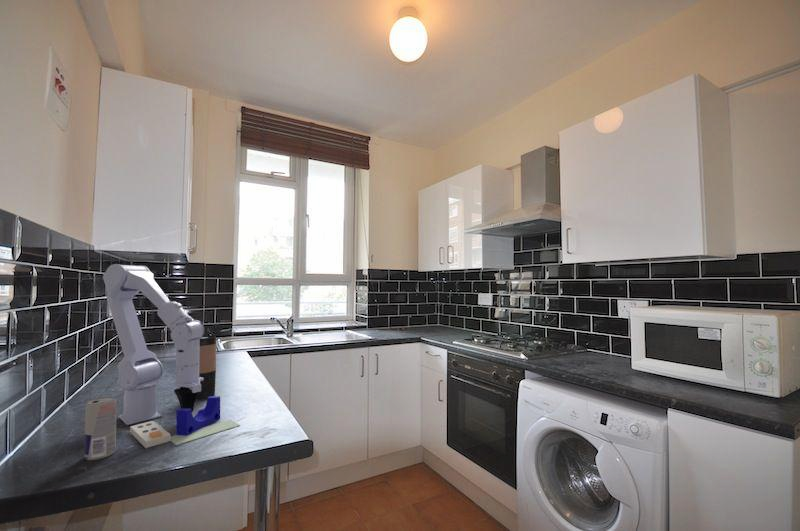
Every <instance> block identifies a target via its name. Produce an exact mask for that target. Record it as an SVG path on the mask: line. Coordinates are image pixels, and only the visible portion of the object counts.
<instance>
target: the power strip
mask: <svg viewBox="0 0 800 531" xmlns="http://www.w3.org/2000/svg"><path fill="white" fill-rule="evenodd" d="M129 430H130V431H129V432H130V434H131V435H132V436H133V437H134V438H135V439H136V440H137V441H138V442H139V443H140V444H141V445H142V446H143V447H144V448H145V449H148V448H151V447H154V446H157V445H161V444H165V443H168V442H171V441H170V437H171V434H170V433H169V431H167V430H165V428H163V427H162V426H161V425H159V424H158V423H157V422H156V421H154V420H151V421H146V422H143V423H139V424H135V425H131V426H130V427H129Z"/></svg>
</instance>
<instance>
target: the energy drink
mask: <svg viewBox="0 0 800 531" xmlns="http://www.w3.org/2000/svg"><path fill="white" fill-rule="evenodd" d="M117 402H118V401H117V399H116V396H103V397H98V398H94V399H91V400H89V401H87V402H86V405H85V417H84V418H85V419H84V425H85V426H84V452H83V453H84V456H83V457H84V459H85V460H86V461H97V460H98V461H99V460H102V459H106V458H108V457H110V456H112V455H113V454H114V453H115V452H116V450H117V449H116V448H117V411H118V409H117V408H118V407H117V406H118V404H117Z"/></svg>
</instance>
